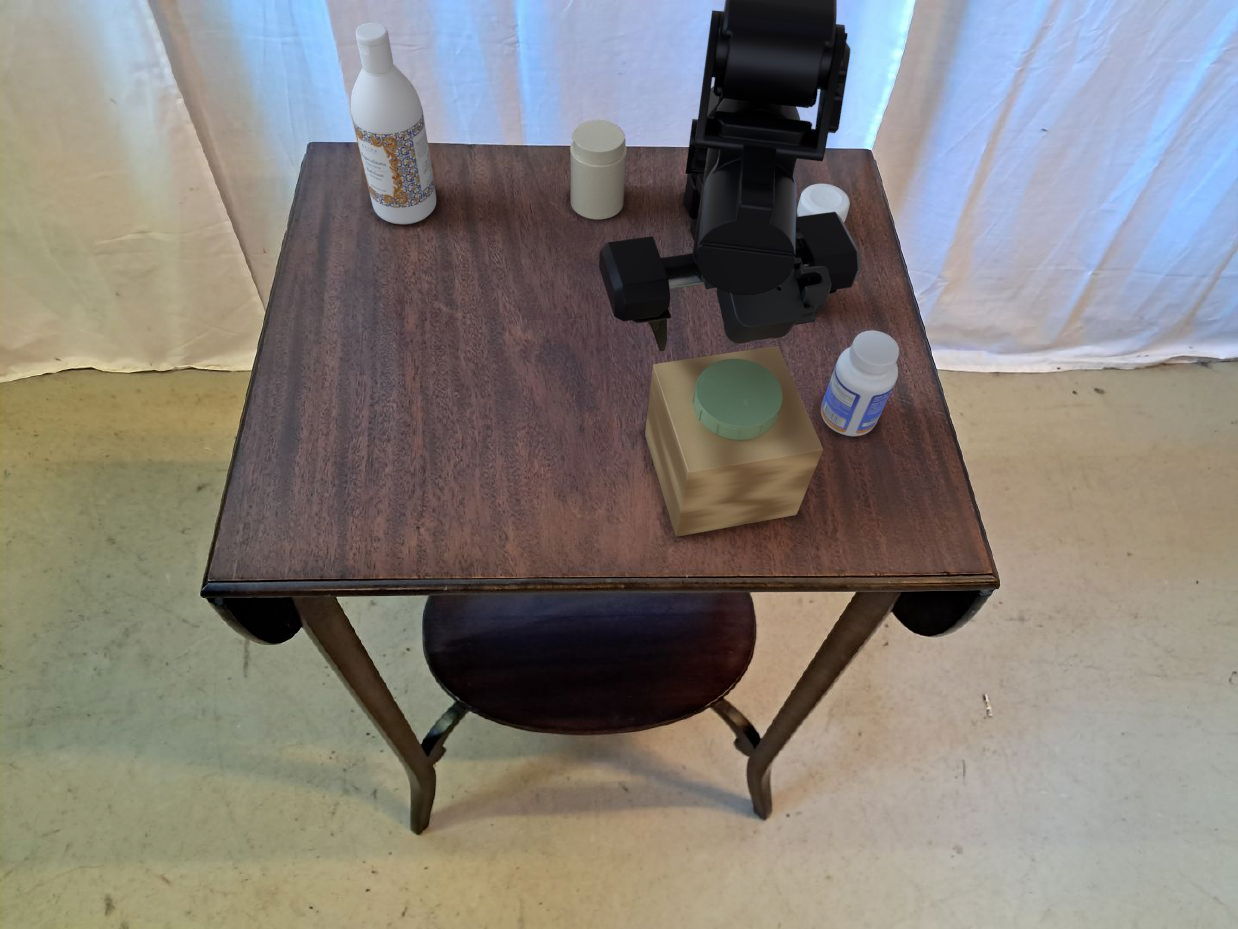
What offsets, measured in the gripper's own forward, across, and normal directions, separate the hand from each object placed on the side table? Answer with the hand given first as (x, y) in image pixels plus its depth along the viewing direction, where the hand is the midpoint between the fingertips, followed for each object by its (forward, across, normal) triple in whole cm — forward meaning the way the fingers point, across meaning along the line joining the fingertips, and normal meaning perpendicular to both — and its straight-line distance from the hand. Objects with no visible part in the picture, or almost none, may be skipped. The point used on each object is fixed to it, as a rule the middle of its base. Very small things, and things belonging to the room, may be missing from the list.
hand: (714, 338), depth 72 cm
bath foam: (+12, -24, +35) cm, 44 cm away
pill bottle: (+12, +14, -2) cm, 19 cm away
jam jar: (+12, -2, +32) cm, 35 cm away
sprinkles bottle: (+12, +14, +13) cm, 23 cm away
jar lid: (0, 0, -6) cm, 6 cm away
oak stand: (+12, 0, -6) cm, 13 cm away
